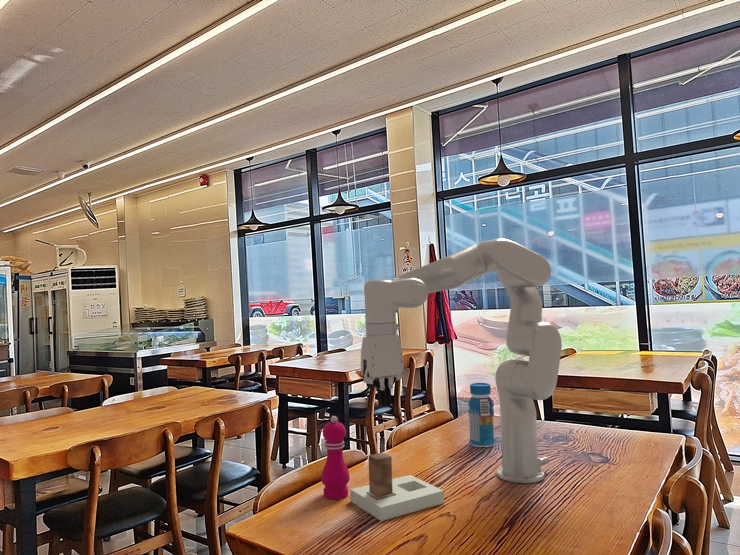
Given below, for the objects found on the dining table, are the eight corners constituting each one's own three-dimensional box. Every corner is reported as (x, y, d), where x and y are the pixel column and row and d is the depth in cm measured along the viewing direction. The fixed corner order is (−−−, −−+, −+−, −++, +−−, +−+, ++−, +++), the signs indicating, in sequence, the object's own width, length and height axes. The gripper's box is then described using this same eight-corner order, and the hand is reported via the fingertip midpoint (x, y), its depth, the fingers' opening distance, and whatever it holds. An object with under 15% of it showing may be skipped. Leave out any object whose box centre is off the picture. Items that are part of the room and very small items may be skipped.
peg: (383, 501, 131) (382, 452, 132) (393, 507, 128) (391, 456, 128) (369, 505, 129) (368, 455, 130) (378, 511, 126) (377, 459, 126)
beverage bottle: (465, 446, 177) (463, 385, 178) (474, 440, 184) (472, 381, 185) (490, 449, 173) (488, 386, 174) (498, 443, 180) (496, 383, 181)
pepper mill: (346, 501, 133) (344, 419, 133) (318, 499, 134) (316, 419, 135) (353, 490, 140) (350, 413, 140) (326, 489, 141) (324, 412, 142)
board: (410, 486, 142) (410, 474, 142) (444, 503, 130) (443, 490, 130) (350, 501, 132) (350, 489, 132) (381, 521, 120) (380, 507, 120)
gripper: (397, 327, 139) (400, 398, 138) (347, 332, 131) (350, 407, 130) (414, 328, 132) (418, 403, 132) (362, 333, 124) (366, 413, 124)
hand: (384, 405), depth 131 cm, fingers closed
